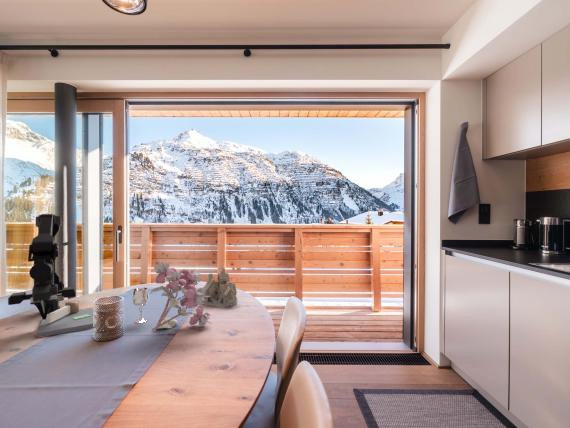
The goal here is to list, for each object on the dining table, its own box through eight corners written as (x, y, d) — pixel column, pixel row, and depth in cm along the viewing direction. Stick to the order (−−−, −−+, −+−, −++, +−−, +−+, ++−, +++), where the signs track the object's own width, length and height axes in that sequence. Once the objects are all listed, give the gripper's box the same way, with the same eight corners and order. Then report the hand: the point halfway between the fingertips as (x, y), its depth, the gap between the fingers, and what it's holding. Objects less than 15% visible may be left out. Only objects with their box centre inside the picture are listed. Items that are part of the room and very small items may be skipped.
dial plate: (44, 318, 121) (44, 313, 121) (92, 311, 129) (92, 306, 129) (36, 337, 102) (36, 332, 102) (94, 327, 111) (93, 322, 111)
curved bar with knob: (70, 310, 125) (69, 300, 125) (81, 310, 125) (81, 300, 125) (42, 324, 110) (42, 313, 110) (55, 324, 110) (54, 312, 110)
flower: (165, 344, 93) (197, 265, 100) (123, 322, 104) (155, 254, 112) (208, 349, 108) (233, 281, 116) (167, 330, 120) (193, 269, 128)
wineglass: (142, 324, 114) (142, 291, 114) (128, 323, 115) (128, 290, 115) (152, 318, 119) (152, 287, 119) (139, 317, 120) (138, 286, 120)
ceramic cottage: (199, 299, 145) (200, 267, 145) (234, 297, 150) (235, 266, 150) (200, 311, 131) (202, 276, 130) (239, 308, 136) (241, 274, 135)
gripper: (3, 283, 99) (4, 332, 99) (74, 276, 109) (75, 320, 109) (11, 277, 109) (12, 321, 109) (75, 271, 119) (76, 312, 119)
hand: (44, 319), depth 111 cm, fingers closed
